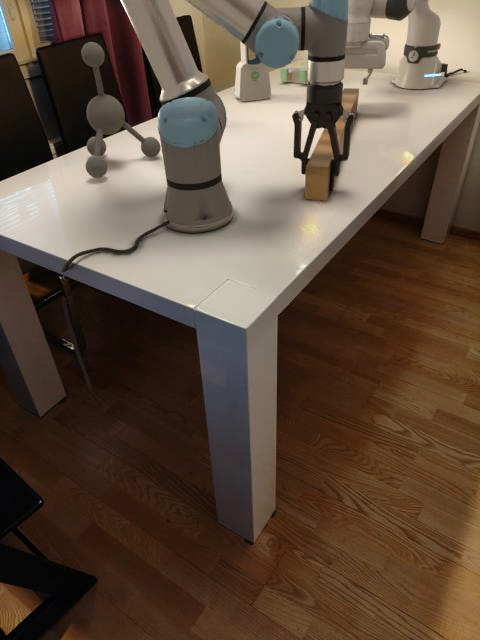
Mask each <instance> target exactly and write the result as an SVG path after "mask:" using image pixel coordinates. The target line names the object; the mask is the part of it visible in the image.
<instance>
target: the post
mask: <svg viewBox="0 0 480 640" xmlns="http://www.w3.org/2000/svg"><path fill="white" fill-rule="evenodd" d="M359 96H360V88H352V87H351V88H349V87H347V88H346V87H345V88H344V87H343V94H342V106H343V108H344V111H347V112H349V113H351V112H354V113H355V117H354V119H353V122H352V124H351V130H352V129H353V126H354V123H355V121H356V117H357V115H358V107H359ZM335 124H336V132H337V138H338V143H339V149H340V154H343V143H344V129H345V124H346V123H344V122H343V117H342V116H341V117H340V118H339V119H338V121H337V122H336V123H335ZM309 158H310V159H309V161H308V163H307V165H306V174H305V177H306V180H305V179H304V180H305V181H304V182H305V183H304V185H305V186H304V200H312V201H325V202H326V201H327V200H328V196H329V193H330V191H329V183H330V168H331V162H332V159H333V160H334V157H333V152H332V147H331V141H330V136H329V133H328V129H325V128H323V131H322V132H321V134H320V136H319V138H318V140H317V142H316V144H315V147H314V149H313V151H312V153H311V155H310V157H309ZM334 178H336V176H334Z"/></svg>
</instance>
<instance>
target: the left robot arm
mask: <svg viewBox="0 0 480 640" xmlns="http://www.w3.org/2000/svg"><path fill="white" fill-rule="evenodd" d="M185 1H186V2H187V3H188V4H190V5H191V6H193V7H194V8H195V9H196V10H198V11H199V12H201V13H202V14H203V15H205V16H206V17H207V18H209V19H210V20H211V21H212V22H214V23H215V24H217V25H218V26H219V27H221V28H222V29H224V30H225V31H226V32H227V33H228V34H230V35H231V36H233V37H234V38H235V39H237V40H238V41H239V42H240V41H241V42H242V43H243V44H244V45H245V46H246V47H248V50H249V51H250V52H251V53H253V54H255V53H256V55H257V56H258V58H259V59H260V61H261V62H262V63H263V64H265V65H266V66H268V67H269V69H270V68H271V69H281V68H283V67H285V66H286V65H288V64H289V63H290V62H291V63H292V62H293V60H294V59H295V58H296V56H297V54H298V52H299V51H301V52H304V51H307V59H308V66H307V80H308V81H310V82H309V83H308V84H306V102H305V106H304V108H303V109H301V110H295V111H294V112H293V113H292V115H291V118H292V121H293V125H294V129H293V135H294V136H293V158H294V159H298V160H300V162H301V166H300V173H301V175H306V165H307V163H308V161H309V159H310V157H309V155H310V151H311V148H312V144H313V142H314V138H315V134H316V132H317V129H318V130H319V129H324V128H325V129H328V133H329V136H330V141H331V147H332V152H333V157H334V160H333V159H332V162H331V168H330V183H329V192H333V190H334V187H335V177H339V175H340V171H341V163H342V162H346V161H348V160H349V156H350V150H351V149H350V148H351V136H352V135H351V134H352V129H351V124H352V122H353V119H354V117H355V113H354V112H351V113H349V112H347V111H344V108H343V106H342V94H343V90H344V83H343V80H344V78H345V69H344V66H345V52H346V40H347V28H348V21H349V20H348V3H349V0H309V1H308V5H304V6H298V7H296V6H295V7H294V6H293V7H291V6H290V7H275V6H273V5H272V4H270V3H269V2H268V1H267V0H185ZM120 2H121V4H122V7H123V8H124V11H125V13H126V15H127V17H128V19H129V21H130V23H131V25H132V28H133V30H134V32H135V34H136V36H137V39H138V40H139V43H140V45H141V47H142V49H143V51H144V54H145V56H146V57H147V60H148V62H149V64H150V66H151V69H152V71H153V73H154V75H155V78H156V79H157V81H158V83H159V85H160V88H161V92H160V95H159V99H158V100H159V102H160V104H161V107H160V108H159V110H158V113H157V130H158V135H159V139H160V148H161V153H162V159H163V168H164V174H165V180H166V190H165V191H166V192H165V196H164V203H163V207H162V218H163V222H162V223H160V224H159V225H156V226H154V227H153V228H151V229H148V230H147V231H145V232H143V233H142V234H140V235H139V236H138V237H137V238H136V239H135V241H134V244H133V245H132V246H131V247H129V248H126V249H117V248H113V247H106V246H100V247H95V248H94V247H93V248H90V249H86V250H83V251H80V252H77V253H75V254H73V256H71V257H70V258H69V259H67V261H66V262H65V264H64V265H63V266H62V268H61V271H60V272H61V273H66V272H67V270H68V268H69V267H70V265H71V264H73V262H74V261H75V260H76V259H78V258H80V257H82V256H84V255H89V254H94V253H97V252H110V253H114V254H123V255H124V254H129V253H131V252H133V251H135V250H136V249H137V248H138V246H139V242H140V241H141V240H143V239H144V238H145V237H147V236H149V235H151V234H153V233H154V232H157V231H158V230H161V229H162V228H164V227H165V226H167V227H168V228H169V229H171V230H173V231H177V232H180V233H190V234H191V233H192V234H193V233H194V234H195V233H196V234H197V233H205V232H206V233H207V232H210V231H215V230H216V229H220V228H222V227H224V226H226V225H227V224H228V223H230V221H231V220H232V218H233V216H234V212H233V211H234V210H233V205H232V201H231V200H230V197H229V195H228V192H227V190H226V187H225V184H224V182H223V175H222V174H223V173H222V161H221V142H222V138H223V136H224V133H225V130H226V126H227V120H228V119H227V109H226V106H225V103H224V102H223V100H222V99H221V97H220V96H219V94H218V93H216V92H215V89H214V87H213V84H212V82H211V80H210V77H209V75H208V74H206V73H204V72H201V71H200V70H199V69H198V67H197V64H196V62H195V59H194V58H193V55H192V52H191V50H190V48H189V45H188V42H187V41H186V38H185V36H184V33H183V30H182V28H181V26H180V23H179V21H178V19H177V16H176V14H175V12H174V10H173V7H172V5H171V2H170V0H120ZM341 116H342V117H343V122H344V123H346V124H345V129H344V143H343V154H340V149H339V143H338V138H337V132H336V124H335V123H336V122H337V121H338V119H339V118H340V117H341ZM304 117H305V118H306V120H307V121H308V122H309V123H310V126H309V129H308V133H307V138H306V140H305V144H304V148H303V151H302V130H303V128H302V127H303V120H304ZM334 176H335V177H334ZM304 180H306V176H305V179H304ZM61 300H62V307H63V313H64V318H65V323H66V327H67V331H68V334H69V337H70V341H71V343H72V347H73V349H74V352H75V354H76V357H77V360H78V362H79V365H80V367H81V370H82V373H83V376H84V379H85V382H86V386H87V387H88V390H89V391H92V390H93V388H92V384H91V381H90V377H89V375H88V372H87V368H86V366H85V364H84V361H83V357H82V355H81V352H80V350H79V348H78V347H79V346H78V345H77V341H76V339H75V335H74V332H73V329H72V325H71V321H70V315H69V309H68V303H67V297H66V296H63V295H62V296H61Z"/></svg>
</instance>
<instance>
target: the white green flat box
mask: <svg viewBox="0 0 480 640" xmlns="http://www.w3.org/2000/svg"><path fill="white" fill-rule="evenodd" d="M307 66H308V58H305V59H299V60H296V61H293V62H292V61H291V62H290V63H289V64H288V65H286V66H285V67H282V68H280V82H287V83H296V84H304V85H307V84H308V83H309V82H310V81H308V80H307Z"/></svg>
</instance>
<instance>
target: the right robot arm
mask: <svg viewBox="0 0 480 640" xmlns="http://www.w3.org/2000/svg"><path fill="white" fill-rule="evenodd" d="M372 18H373V19H388V20H392V21H396V22H397V21H398V22H401V21H403V20H405V19H406V18H407V20H408V21H407V22H408V23H407V35H406V42H405V44H404V47H403V53H402V54H403V57H402V58H400V60H399V62H398V66H397V71H396V75H395V79H392V80H391V83H392V84H394V85H395V86H396V87H398V88H402V89H407V90H408V89H409V90H427V89H438V88H440V87H441V86H442V85H443V84H444V83H445V82H446V80H447V77H448V76H452V75H454V74H457V73H459V72H463V73H468V71H467V69H465V70H463V69H462V68H459V69H456V70H454V71H451V72H448V67H449V64H448V63H443V62H441V60H440V58H439V57H438V55H439V50H440V49H441V43H440V42H438V41H439V36H440V32H441V31H440V30H441V25H442V24H441V23H442V22H441V17H440V16H439V15H438V14H437V13H436V12H435V11H433V10H431V8H430V5H429V0H349V3H348V20H349V21H348V28H347V40H346V52H345V66H344V70H345V69H348V70H349V69H351V70H352V69H355V70H367V73H368V74H367V76H366V77H363V79H362V85H364V86H365V85H366V86H367V85H368V84H369V79H370V77H371V76H372V74H373V72H374V70H382V69H384V68H385V66H386V63H387V62H386V61H387V50H388V49H389V47H390V37H389V35H386V34H385V33H371V23H372ZM442 73H444V74H443V75H442Z"/></svg>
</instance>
